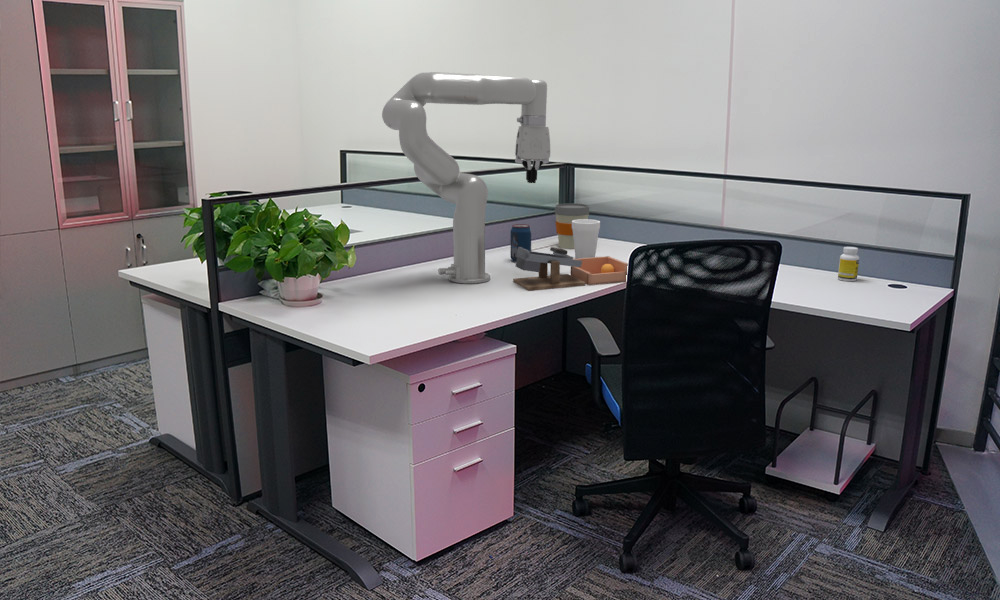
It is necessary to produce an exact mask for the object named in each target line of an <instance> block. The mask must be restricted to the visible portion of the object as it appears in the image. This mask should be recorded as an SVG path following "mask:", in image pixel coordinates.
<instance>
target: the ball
mask: <svg viewBox="0 0 1000 600" xmlns="http://www.w3.org/2000/svg"><path fill="white" fill-rule="evenodd" d="M610 272H614V267H613V266H612V265H611V264H605V265H603V266H602V268H601V273H610Z"/></svg>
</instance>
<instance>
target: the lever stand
mask: <svg viewBox="0 0 1000 600" xmlns="http://www.w3.org/2000/svg"><path fill="white" fill-rule="evenodd" d="M548 265H549V263H542V262H541V264H540V269H539V272H538V276H531V277H530V276H529V277H518V278H517V277H516V278H512V283H514V284H516V285H518V286H520V287H521V288H523V289H525V290H527V291H528V292H530V291H539V290H541V291H542V290H551V289H563V288H573V287H574V288H575V287H584V286H586V284H585V282H584V281H582V280H580V279H577V278H575V277H573V276H571V274H569V273H560V272H561V265H560V262H559V261H552V262H551V264H550V274H549V275H548V273H549V271H548V268H549V267H548Z"/></svg>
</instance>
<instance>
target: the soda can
mask: <svg viewBox="0 0 1000 600" xmlns="http://www.w3.org/2000/svg"><path fill="white" fill-rule="evenodd" d="M518 247H522V248H524V249H526V250H528V251H532V228H530V225H529V224H526V223H525V224H524V223H521V224H520V223H517V224H512V226H511V229H510V254H509V255H510V258H511V261H512V262H514V263H516V260H517V252H518Z"/></svg>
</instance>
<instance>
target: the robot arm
mask: <svg viewBox="0 0 1000 600" xmlns="http://www.w3.org/2000/svg"><path fill="white" fill-rule="evenodd" d="M547 94H548V83H547V82H546V81H545V80H543V79H530V78H527V77H526V78H525V77H514V76H513V77H511V76H495V75H493V76H492V75H486V74H477V73H476V74H474V73H460V72H459V73H455V72H438V71H437V72H432V71H431V72H419V73H417V74H415V75H414V76H413V77H412V78H410V79H409V80H408V81H407V82H406V83H405V84H404V85H403V86H402V87H401V88H400V89H399V90H398V91H396V93H395V94H394V95H392V97H391V98H390V99H389V100H388V101H387V102H386V103H385V104H384V106H383V108H382V113H381V117H382V121H383V123H384V124H385V126H387V128H389V129H391V130H395V131H398V139H399V140H398V141H399V145H400V148H401V152H402V153H403V154H404V156H405V157H406V158H407V159H408V160H409V161H410V162H411V163H412V164H413V170H414V175H415V176H416V177H417V178H418V180H419V181H420V182H421V183H422V184H423V185H425V186H426V187H427V188H428V189H430V190H431V191H432V192H433V193H435V194H436V195H437V196H439V198H441V199H442V200H444V201H445V202H447V203H450V204H453V205H455V209H454V213H453V217H452V229H453V230H452V234H453V235H452V237H453V239H452V240H453V242H452V243H453V263H451V264H450V266H448V267H442V268H441V267H439V268H438V269H437V271H438V272H437V273H438V275H441V276H442V275H444V276H448V280H449V281H451V282H453V283H456V284H457V283H458V284H480V283H486V282H488V281H490V280H491V274H489V273H487V272H486V226H485V225H486V208H487V202H488V195H489V193H488V187H487V184H486V182H485V181H484V179H482V178H481V177H479V176H478V175H476V174H472V173H467V172H466V173H465V172H461V171H460V165H459V164H458V162H457V161H456V159H455V158H454V157H453V156H452V155H450V154H449V153H447V152H446V151H445V150H444V149H443V148H442V147H441V146H439V145H438V144H437V143H436V142H435V141H434V140H433V139H432V138H431V136H429V134H428V131H427V113H426V110H425V108H424V106H425V105H426V104H438V105H439V104H441V105H442V104H443V105H444V104H446V105H449V104H450V105H472V106H474V105H475V106H477V105H478V106H479V105H480V106H483V105H494V104H497V105H500V104H501V105H521V109H520V110H521V111H520V112H521V113H520V114H521V115H520V117H517V118H516V122H517V123H519V124H520V126H518V129H517V134H516V140H515V141H516V142H515V149H514V150H515V151H514V153H515V155H514V156H515V160H514V162H515V163H516V164H520V165H522V166H523V167H524V169H525V170H526V171H525V174H526V175H525V176H526V177H525V179H526V182H527V183H528V184H536V181H537V180H538V171H539V169H540V167H541V166H542V165H545V164H546V165H547V164H549V163H550V161H549V159H550V158H551V137H550V128H549V126H547V124H546V123H547V103H548V102H547V97H548V95H547Z"/></svg>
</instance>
